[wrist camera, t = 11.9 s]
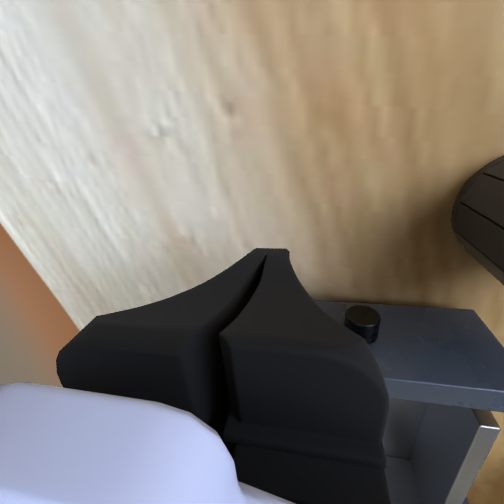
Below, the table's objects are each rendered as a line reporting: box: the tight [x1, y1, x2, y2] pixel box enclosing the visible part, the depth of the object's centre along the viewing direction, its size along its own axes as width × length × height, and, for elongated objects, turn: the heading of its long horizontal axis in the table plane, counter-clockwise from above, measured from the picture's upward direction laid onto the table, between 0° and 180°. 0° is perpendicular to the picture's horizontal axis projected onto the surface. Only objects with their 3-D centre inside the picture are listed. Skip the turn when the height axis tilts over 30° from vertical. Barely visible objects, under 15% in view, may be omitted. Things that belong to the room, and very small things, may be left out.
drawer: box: [313, 300, 504, 504], centre depth 16 cm, size 15×12×5 cm
